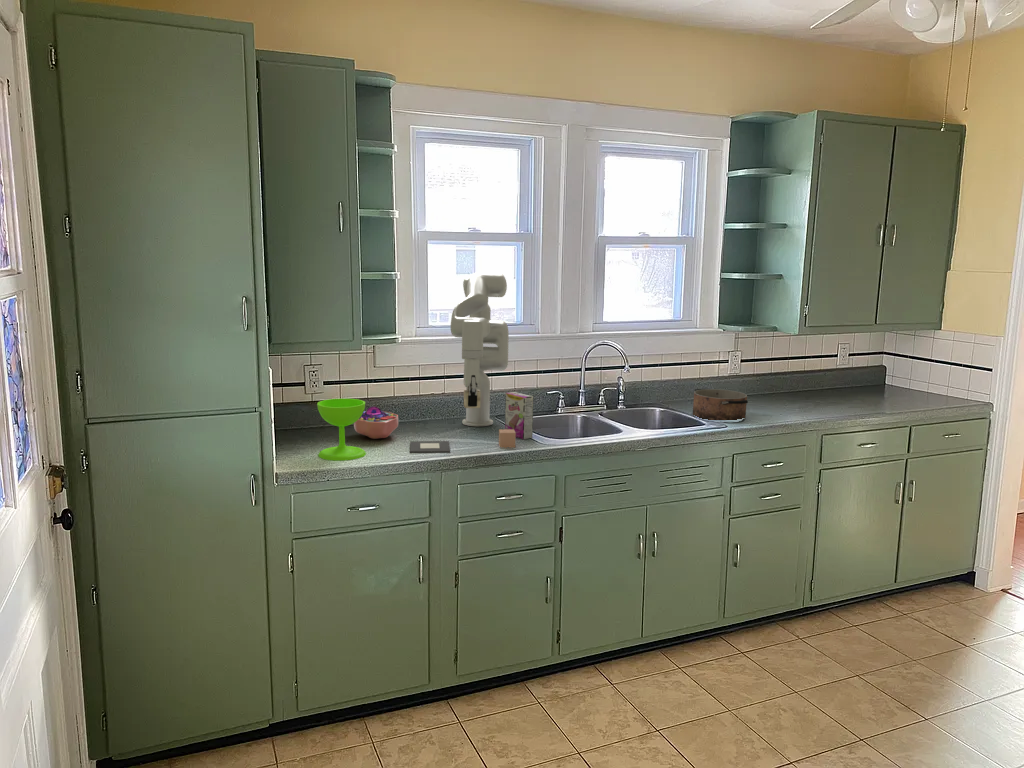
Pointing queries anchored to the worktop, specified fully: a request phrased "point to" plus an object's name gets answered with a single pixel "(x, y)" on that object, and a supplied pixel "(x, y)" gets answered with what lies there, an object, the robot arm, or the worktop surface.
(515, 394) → the candy bar box
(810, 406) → the worktop surface
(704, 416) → the cooking pot
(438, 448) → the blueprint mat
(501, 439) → the terracotta block
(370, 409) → the cell model
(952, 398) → the worktop surface
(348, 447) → the wineglass
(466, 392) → the birch block
